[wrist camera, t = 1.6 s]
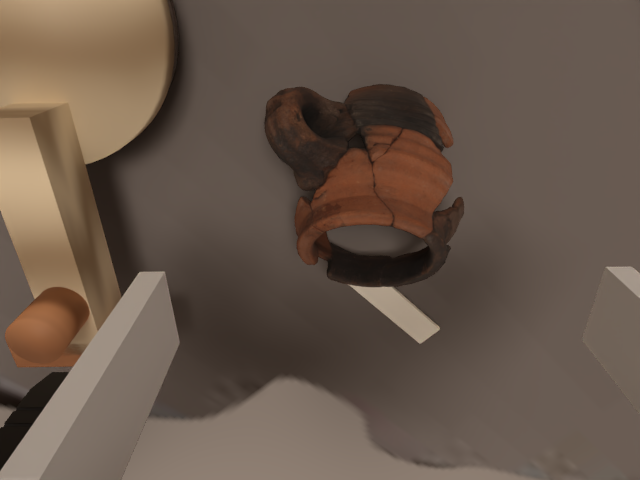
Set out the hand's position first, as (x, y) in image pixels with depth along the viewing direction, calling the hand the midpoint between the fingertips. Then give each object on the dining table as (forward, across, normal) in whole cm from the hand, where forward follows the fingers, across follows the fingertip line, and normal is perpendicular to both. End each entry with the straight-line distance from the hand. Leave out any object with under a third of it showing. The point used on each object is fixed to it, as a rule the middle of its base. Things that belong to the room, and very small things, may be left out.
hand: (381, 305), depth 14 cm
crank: (+11, -14, +3) cm, 18 cm away
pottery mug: (+14, 0, 0) cm, 14 cm away
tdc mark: (+13, +3, -9) cm, 16 cm away
